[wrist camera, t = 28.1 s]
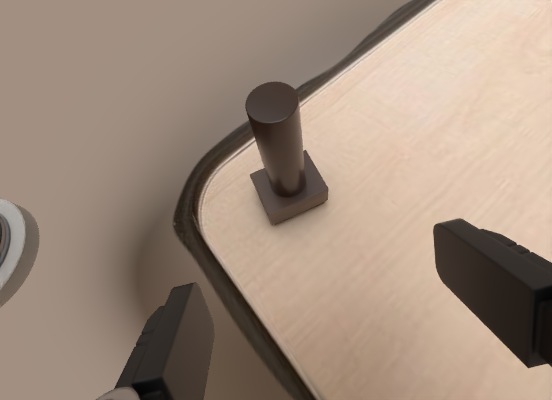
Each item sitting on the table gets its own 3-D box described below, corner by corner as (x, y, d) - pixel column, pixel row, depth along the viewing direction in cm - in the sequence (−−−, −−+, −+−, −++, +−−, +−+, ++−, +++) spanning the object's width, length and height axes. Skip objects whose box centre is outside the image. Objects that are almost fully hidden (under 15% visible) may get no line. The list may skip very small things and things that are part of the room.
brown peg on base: (273, 228, 25) (240, 149, 15) (256, 189, 27) (215, 94, 16) (327, 203, 25) (333, 108, 15) (307, 167, 27) (299, 59, 17)
